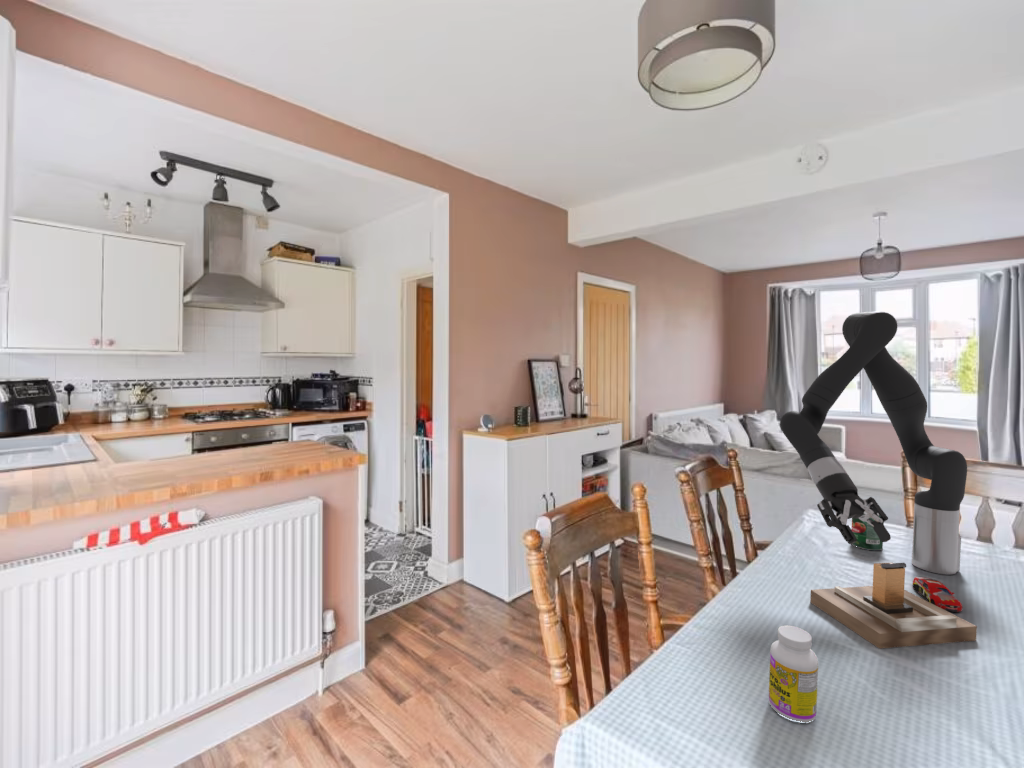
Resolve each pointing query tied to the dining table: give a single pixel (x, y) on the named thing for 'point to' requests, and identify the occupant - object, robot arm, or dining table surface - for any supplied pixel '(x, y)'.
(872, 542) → the canned tomato
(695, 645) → the dining table surface
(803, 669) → the supplement bottle
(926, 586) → the race car
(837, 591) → the dock
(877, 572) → the block with metal roller
